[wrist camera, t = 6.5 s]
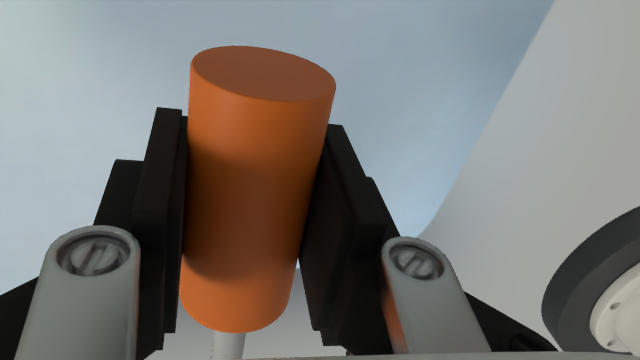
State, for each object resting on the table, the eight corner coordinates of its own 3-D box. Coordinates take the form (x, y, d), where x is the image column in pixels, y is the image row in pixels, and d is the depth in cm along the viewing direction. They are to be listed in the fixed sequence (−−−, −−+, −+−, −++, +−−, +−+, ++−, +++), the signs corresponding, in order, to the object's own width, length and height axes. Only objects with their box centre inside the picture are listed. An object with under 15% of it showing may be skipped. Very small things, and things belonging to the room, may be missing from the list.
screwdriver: (322, 54, 11) (351, 108, 8) (258, 373, 17) (265, 454, 14) (193, 37, 10) (186, 91, 8) (176, 376, 16) (168, 462, 14)
